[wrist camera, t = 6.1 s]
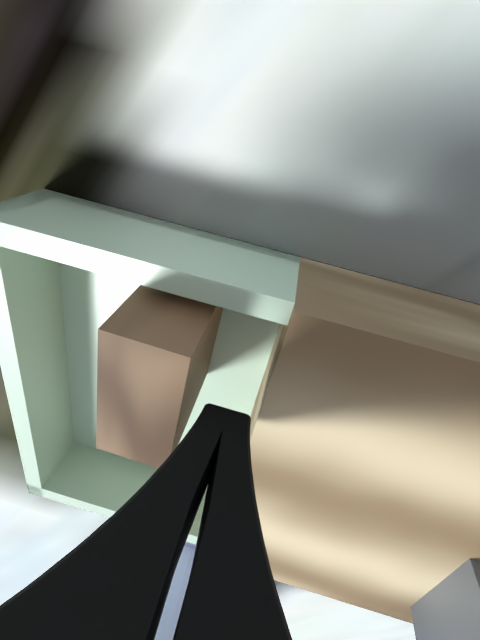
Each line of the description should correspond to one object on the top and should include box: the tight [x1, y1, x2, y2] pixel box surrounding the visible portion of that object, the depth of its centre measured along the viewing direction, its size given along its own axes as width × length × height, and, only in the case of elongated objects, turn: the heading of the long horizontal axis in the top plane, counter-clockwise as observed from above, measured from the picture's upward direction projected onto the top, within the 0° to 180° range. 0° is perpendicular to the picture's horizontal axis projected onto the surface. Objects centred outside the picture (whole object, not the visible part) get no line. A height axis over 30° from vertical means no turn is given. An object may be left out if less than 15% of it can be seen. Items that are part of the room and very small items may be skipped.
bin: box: [0, 189, 300, 544], centre depth 16 cm, size 15×10×4 cm, turn 169°
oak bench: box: [250, 257, 480, 623], centre depth 15 cm, size 15×18×4 cm
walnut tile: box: [96, 285, 223, 468], centre depth 13 cm, size 5×5×2 cm
